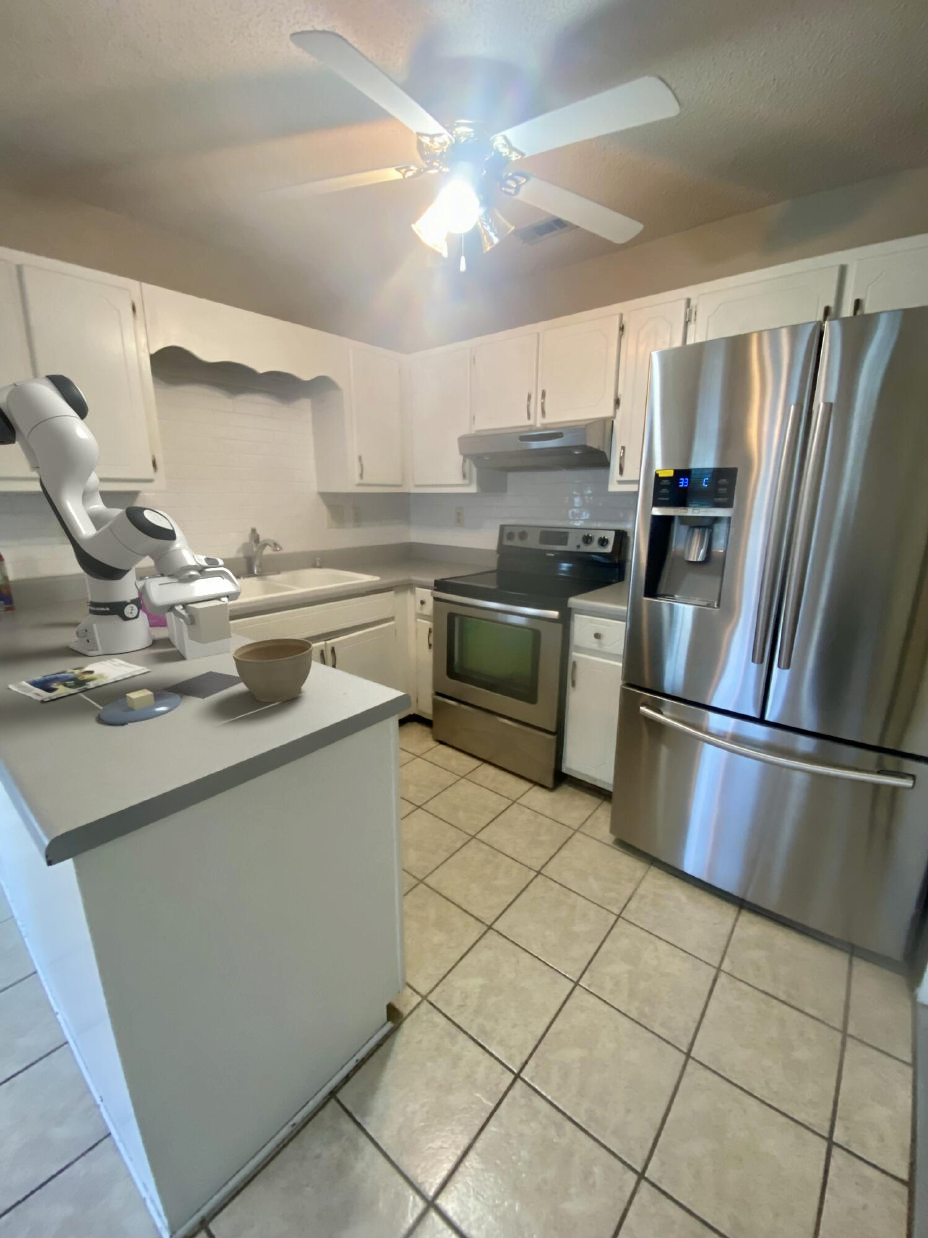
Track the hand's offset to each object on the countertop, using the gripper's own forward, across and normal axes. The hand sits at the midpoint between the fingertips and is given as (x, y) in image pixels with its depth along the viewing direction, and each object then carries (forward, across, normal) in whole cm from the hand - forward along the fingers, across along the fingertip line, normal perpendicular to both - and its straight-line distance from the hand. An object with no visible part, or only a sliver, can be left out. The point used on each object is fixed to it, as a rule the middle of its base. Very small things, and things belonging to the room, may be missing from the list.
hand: (209, 619), depth 113 cm
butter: (+11, -16, +11) cm, 22 cm away
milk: (-48, +7, +71) cm, 86 cm away
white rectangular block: (+3, 0, +4) cm, 4 cm away
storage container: (-14, +13, +37) cm, 41 cm away
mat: (+9, -1, +13) cm, 16 cm away
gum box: (-35, +23, +58) cm, 71 cm away
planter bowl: (+22, +5, 0) cm, 23 cm away
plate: (+11, -16, +11) cm, 22 cm away
